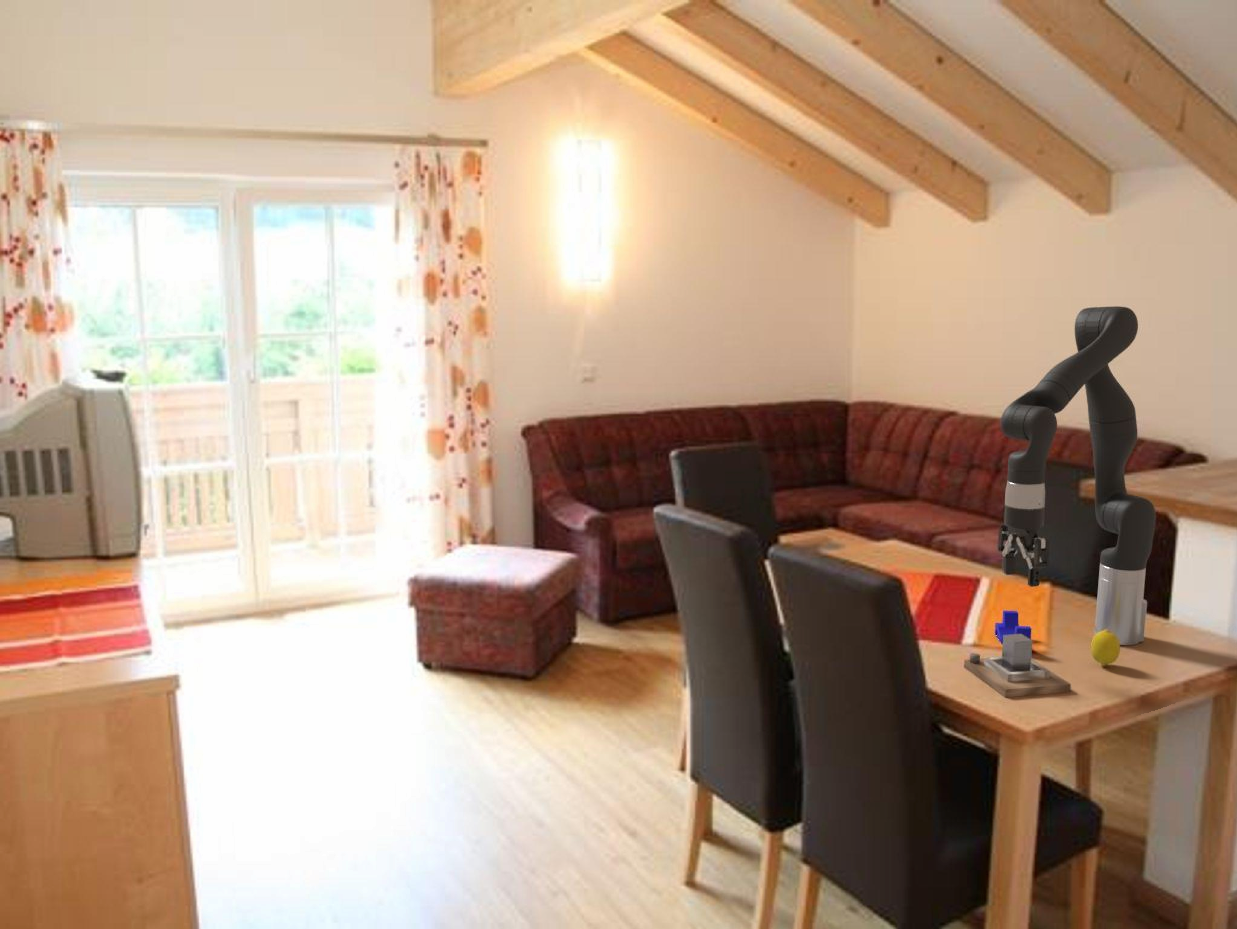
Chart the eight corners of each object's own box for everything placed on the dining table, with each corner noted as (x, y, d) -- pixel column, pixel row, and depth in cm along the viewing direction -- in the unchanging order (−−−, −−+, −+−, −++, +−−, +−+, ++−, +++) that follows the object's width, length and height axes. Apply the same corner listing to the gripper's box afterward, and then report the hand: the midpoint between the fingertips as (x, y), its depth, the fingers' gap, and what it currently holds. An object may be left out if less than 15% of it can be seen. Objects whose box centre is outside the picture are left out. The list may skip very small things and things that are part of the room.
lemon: (1116, 672, 211) (1119, 635, 210) (1087, 667, 214) (1090, 631, 212) (1119, 664, 216) (1123, 628, 214) (1091, 659, 219) (1094, 623, 217)
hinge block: (1018, 666, 210) (1021, 633, 209) (1030, 673, 206) (1032, 640, 205) (1001, 667, 209) (1003, 635, 208) (1012, 674, 206) (1014, 641, 204)
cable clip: (994, 635, 234) (996, 610, 233) (1015, 636, 233) (1016, 610, 232) (1008, 654, 222) (1009, 627, 221) (1029, 655, 222) (1031, 628, 221)
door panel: (1025, 662, 217) (1025, 648, 217) (1070, 691, 202) (1071, 676, 201) (963, 667, 215) (964, 653, 214) (1005, 697, 199) (1005, 682, 199)
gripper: (1063, 509, 201) (1058, 588, 204) (1021, 494, 215) (1017, 568, 218) (1028, 512, 199) (1024, 591, 202) (988, 497, 213) (985, 571, 216)
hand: (1021, 579), depth 210 cm, fingers open, 8 cm apart
